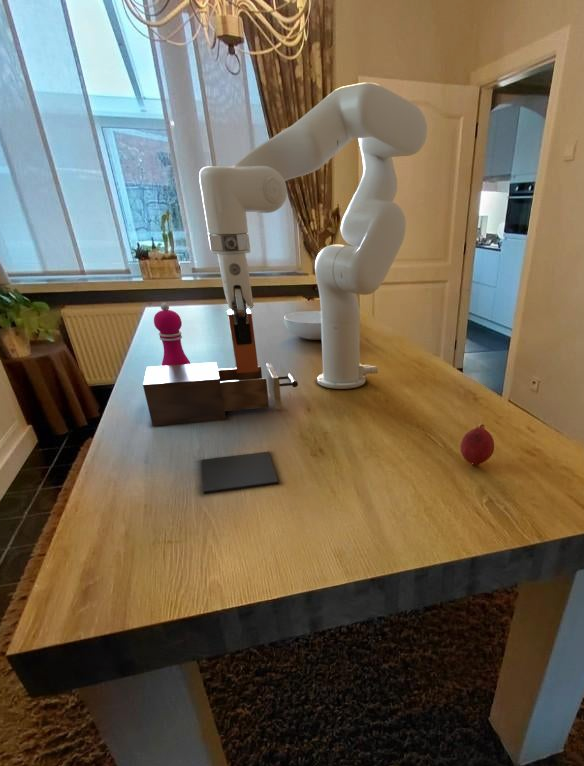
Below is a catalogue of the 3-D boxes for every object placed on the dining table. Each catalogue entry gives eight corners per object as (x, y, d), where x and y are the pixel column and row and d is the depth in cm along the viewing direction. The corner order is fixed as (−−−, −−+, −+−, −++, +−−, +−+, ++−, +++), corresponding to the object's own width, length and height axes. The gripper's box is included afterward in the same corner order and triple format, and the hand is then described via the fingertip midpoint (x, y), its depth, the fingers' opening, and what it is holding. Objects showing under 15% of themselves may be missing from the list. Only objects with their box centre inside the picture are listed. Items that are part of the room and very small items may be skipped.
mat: (268, 453, 92) (268, 451, 92) (278, 483, 82) (278, 481, 82) (202, 461, 89) (201, 459, 89) (203, 493, 79) (203, 491, 79)
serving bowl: (344, 345, 161) (344, 323, 158) (280, 344, 161) (279, 322, 158) (347, 331, 179) (347, 310, 175) (290, 330, 179) (288, 310, 175)
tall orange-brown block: (256, 365, 111) (249, 308, 104) (258, 371, 107) (251, 313, 101) (235, 367, 110) (226, 310, 103) (237, 373, 106) (228, 314, 100)
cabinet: (222, 399, 116) (216, 362, 112) (225, 419, 106) (219, 378, 101) (155, 405, 113) (146, 366, 108) (152, 426, 102) (142, 384, 98)
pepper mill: (186, 394, 119) (170, 306, 108) (159, 392, 120) (140, 304, 109) (201, 385, 125) (186, 300, 114) (175, 383, 126) (158, 299, 115)
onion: (483, 476, 86) (490, 433, 81) (453, 467, 88) (458, 425, 84) (495, 463, 90) (502, 422, 86) (465, 455, 92) (471, 415, 88)
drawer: (292, 390, 120) (290, 361, 116) (301, 406, 110) (299, 376, 107) (215, 397, 115) (211, 367, 111) (218, 414, 106) (213, 383, 102)
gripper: (254, 247, 89) (265, 349, 99) (245, 240, 103) (256, 330, 113) (211, 248, 88) (227, 352, 98) (208, 241, 101) (222, 333, 111)
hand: (243, 339), depth 105 cm, fingers closed on tall orange-brown block, 4 cm apart
